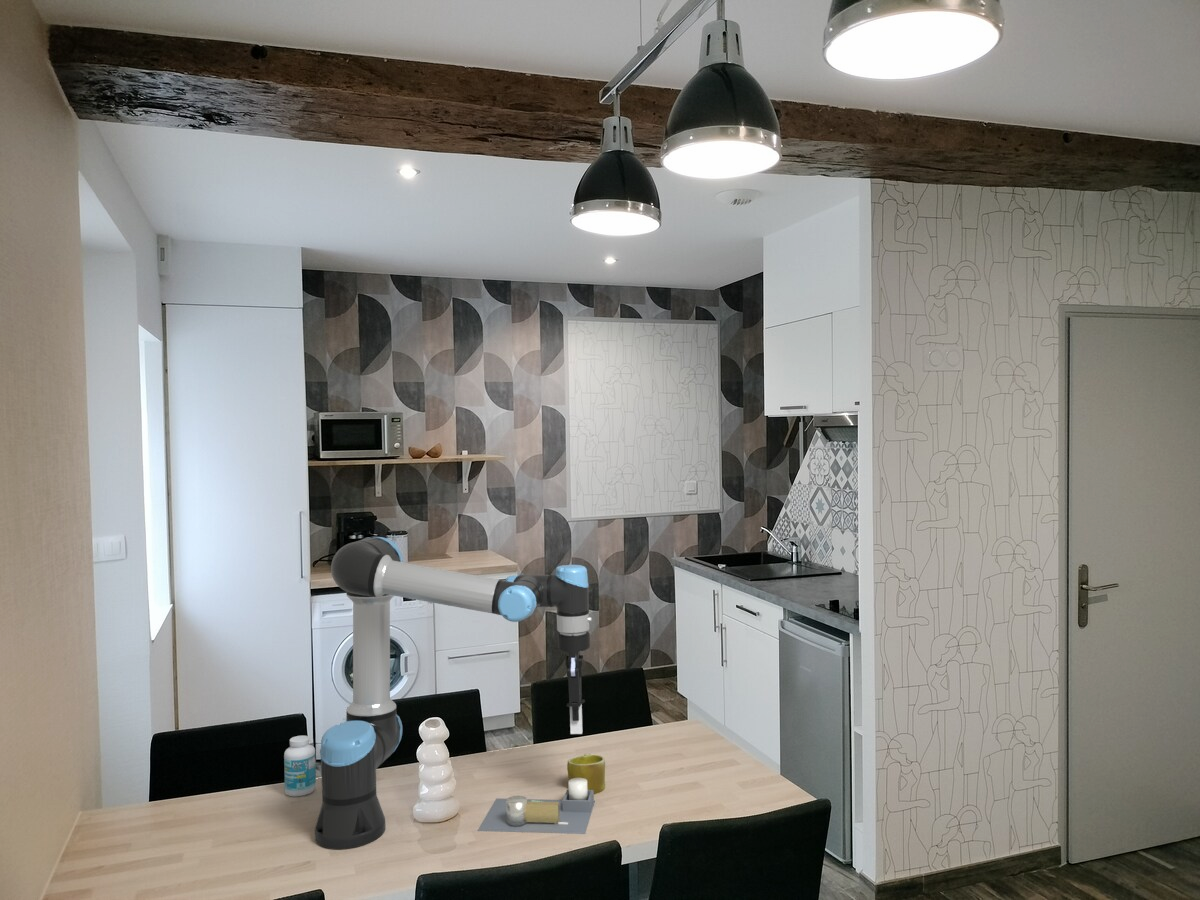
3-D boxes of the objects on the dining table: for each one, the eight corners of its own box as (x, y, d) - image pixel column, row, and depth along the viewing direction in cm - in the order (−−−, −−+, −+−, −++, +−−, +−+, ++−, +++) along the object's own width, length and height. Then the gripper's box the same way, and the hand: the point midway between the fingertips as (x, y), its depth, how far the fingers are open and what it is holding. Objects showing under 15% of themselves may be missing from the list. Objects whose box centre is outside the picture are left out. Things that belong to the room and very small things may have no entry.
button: (567, 804, 193) (567, 785, 193) (570, 796, 197) (570, 777, 197) (586, 804, 192) (585, 785, 192) (588, 796, 197) (588, 777, 197)
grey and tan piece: (504, 825, 185) (504, 804, 185) (509, 816, 189) (509, 795, 189) (557, 827, 184) (556, 805, 183) (560, 817, 188) (560, 796, 188)
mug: (607, 795, 199) (595, 752, 201) (568, 806, 201) (557, 764, 203) (620, 785, 210) (608, 745, 213) (582, 795, 212) (571, 755, 215)
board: (477, 836, 183) (476, 819, 183) (496, 803, 200) (495, 788, 200) (585, 839, 181) (584, 822, 181) (595, 805, 197) (594, 790, 197)
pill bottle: (278, 797, 208) (277, 743, 208) (294, 785, 215) (293, 732, 215) (306, 798, 206) (305, 744, 206) (321, 786, 214) (320, 733, 214)
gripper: (588, 637, 188) (591, 742, 188) (590, 625, 201) (593, 723, 201) (555, 638, 188) (558, 743, 188) (559, 626, 201) (562, 723, 201)
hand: (576, 732), depth 195 cm, fingers closed
